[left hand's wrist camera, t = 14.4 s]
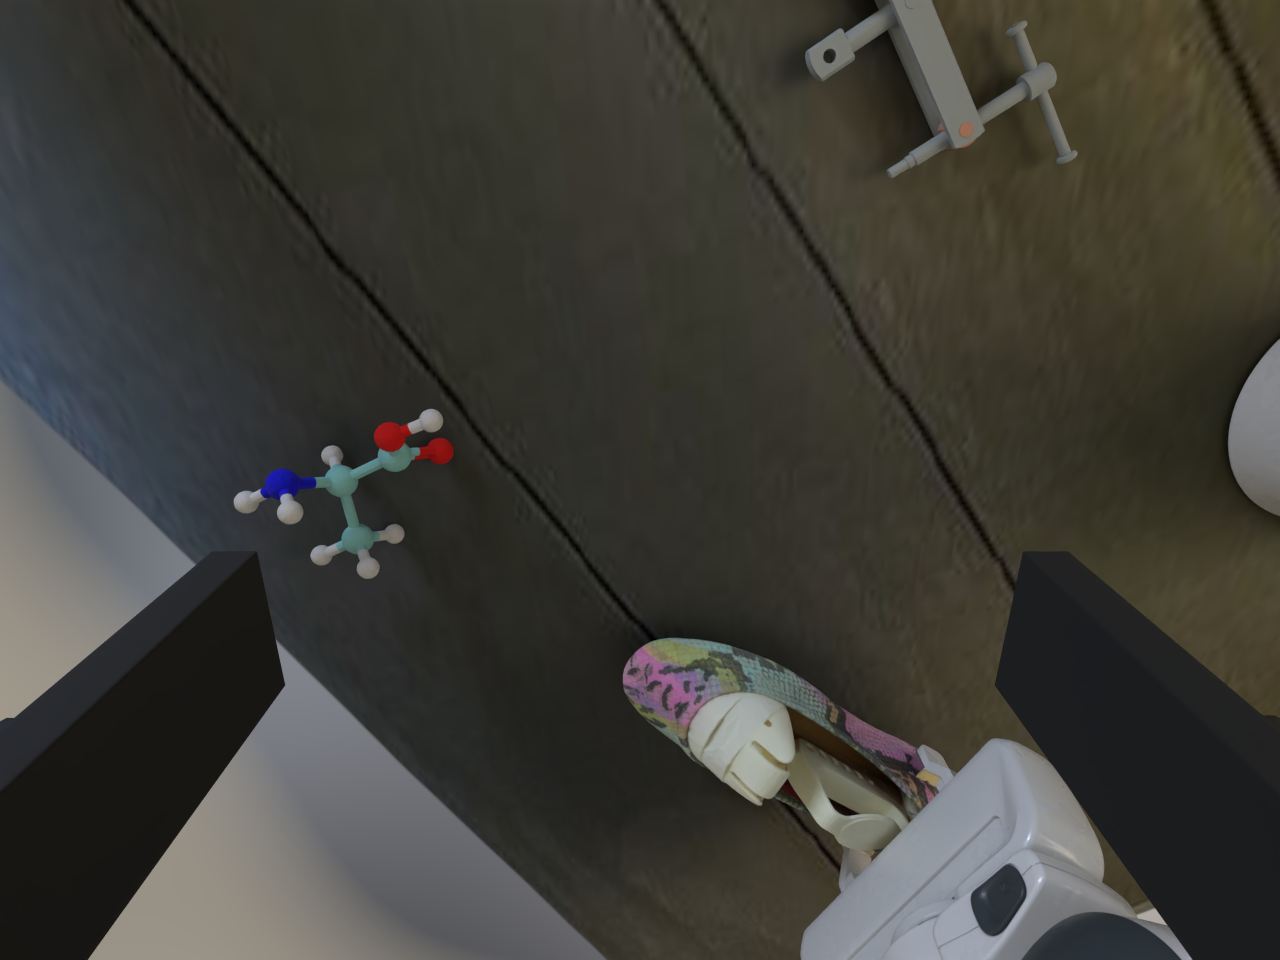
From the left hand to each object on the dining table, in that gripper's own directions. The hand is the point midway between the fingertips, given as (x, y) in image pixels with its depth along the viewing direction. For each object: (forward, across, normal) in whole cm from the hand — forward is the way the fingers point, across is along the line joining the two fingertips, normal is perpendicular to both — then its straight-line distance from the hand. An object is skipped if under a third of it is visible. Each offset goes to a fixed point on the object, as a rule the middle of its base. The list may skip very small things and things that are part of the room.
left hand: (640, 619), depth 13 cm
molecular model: (+32, -17, -9) cm, 37 cm away
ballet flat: (+30, +10, -27) cm, 42 cm away
